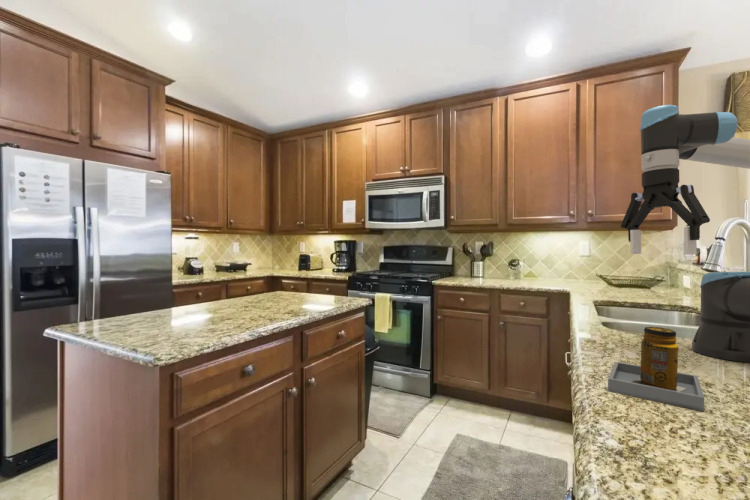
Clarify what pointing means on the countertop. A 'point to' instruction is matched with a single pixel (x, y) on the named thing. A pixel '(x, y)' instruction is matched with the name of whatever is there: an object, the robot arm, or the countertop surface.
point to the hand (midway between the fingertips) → (661, 254)
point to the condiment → (659, 359)
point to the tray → (686, 398)
